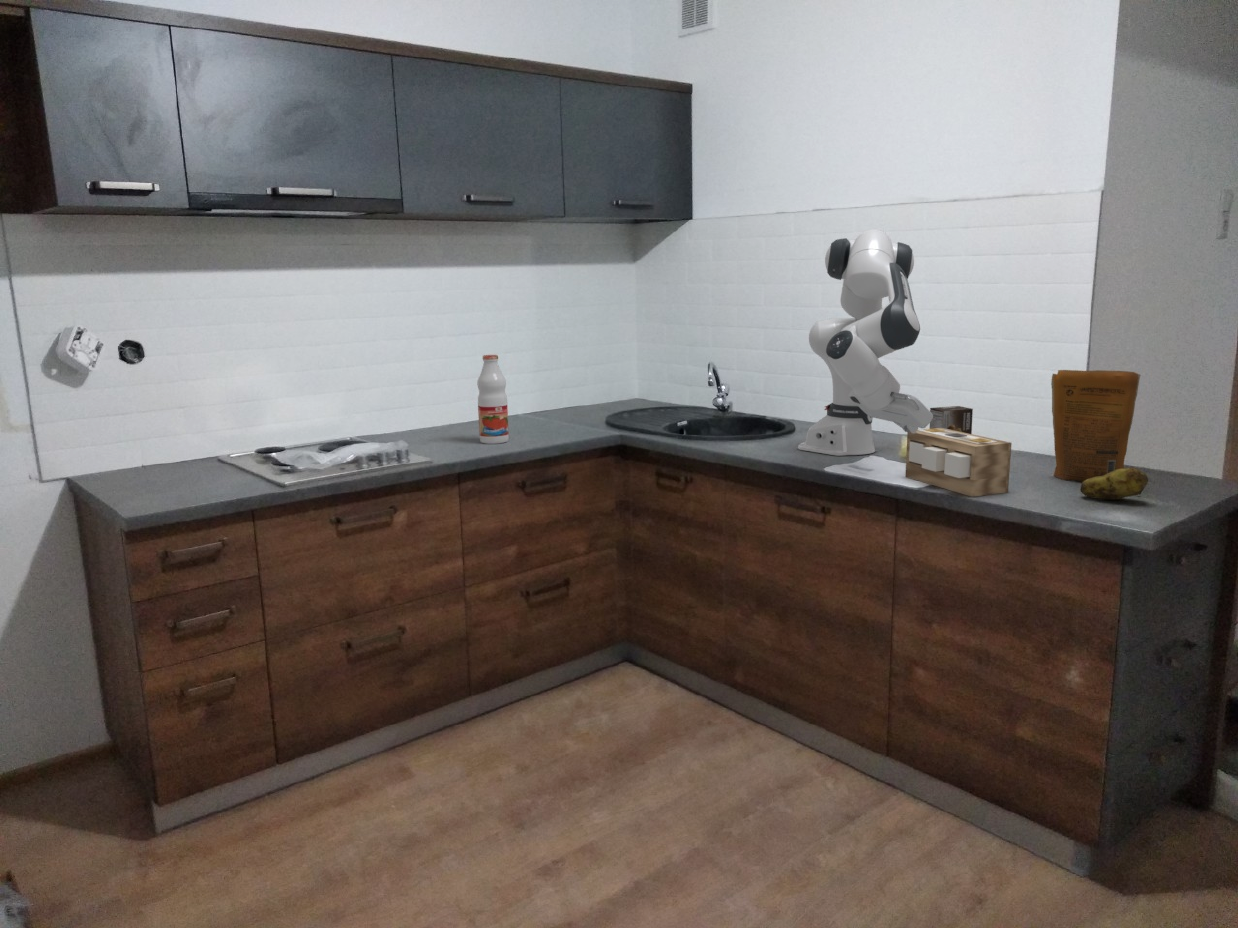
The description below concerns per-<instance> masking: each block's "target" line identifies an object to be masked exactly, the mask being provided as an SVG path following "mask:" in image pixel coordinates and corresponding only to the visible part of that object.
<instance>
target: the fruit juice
mask: <svg viewBox="0 0 1238 928" xmlns="http://www.w3.org/2000/svg"><path fill="white" fill-rule="evenodd" d="M482 361H483V365H482V368H481V371H480V375H479V376H478V379H477V389H478V392H479V394H478V396H477V411H478V413H477V414H478V431H479V442H480V443H482V444H486V445H487V444H488V445H492V444H493V445H496V444H498V445H499V444H503V443H507V442H508V441H509V439H510V437H509V415H508V414H509V412H508V409H509V408H508V398H507V394H506V386H507V380H506V378H505V377H504V375H503V373H502V370H501V368H500V366H499V363H498V362H499V356H498V354H486V355H485V354H484V355H482Z"/></svg>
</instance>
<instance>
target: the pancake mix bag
mask: <svg viewBox="0 0 1238 928" xmlns="http://www.w3.org/2000/svg"><path fill="white" fill-rule="evenodd" d="M1140 378H1141V374H1139V373H1137V372H1135V371H1127V370H1104V369H1103V370H1099V369H1098V370H1096V369H1095V370H1077V369H1075V370H1074V369H1073V370H1071V369H1058V370H1057V373H1052V375H1051V380H1050V381H1051V382H1050V385H1051V414H1052V426H1053V427H1052V429H1053V440H1054V441H1053V442H1054V454H1055V456H1054V457H1055V468H1054V472H1053V477H1056V478H1057V477H1058V478H1057V479H1059V478H1060V479H1059V480H1062V479H1063V480H1064V481H1069V482H1070V481H1071V482H1079V483H1082V482H1083V481H1085V480H1087V479H1090V478H1093V477H1097V476H1103V475H1106V474H1108V473H1110V472H1112V471H1114V470H1117V469H1121V468H1125V467H1124V466H1125V465H1124V464H1125V458H1126V455H1127V451H1128V443H1129V436H1130V431H1131V428H1132V426H1133V425H1132V424H1133V418H1134V414H1135V407H1136V400H1137V396H1138V392H1139V386H1140Z"/></svg>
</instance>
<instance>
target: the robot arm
mask: <svg viewBox="0 0 1238 928" xmlns="http://www.w3.org/2000/svg"><path fill="white" fill-rule="evenodd" d="M824 265H825V268H826V271H827V272H826V273H827V275H828V276H829V277H830V278H833V279H835V280H839V281H841V280H842V288H841V295H840V299H839V300H840V301H839V302H840V306H841V308H842V309H843V311H844V312H846V314H847V315H849V316H851V317H843V318H842V317H841V318H840V317H836V318H835V317H834V318H827V319H822V320H819V321H816V322H814V324H813V325H812V327H811V328H810V330H809V333H808V343H809V346H810V348H811V350H812V351H813V352H814V354H816V355H817V356H818V357H820V358H821V359H822V360H823V361H824V363H825V364H826V365H827V367H828V369H829V372H830V374H831V379H832V402H831V403H829V404H827V405H826V406H824V411H826V415H825V416H823V417H822V418H821V419H819V420H818V421H817V422H815V423H814V424H813V425H811V426H810V427H809V428H808V430H807V433H806V437H805V441H803V442H801V443H799V444H798V446H797V449H798V450H799V451H807V452H812V453H819V454H824V455H831V456H836V457H837V456H838V457H839V456H840V457H841V456H858V455H859V456H861V455H868V454H873V453H875V452H876V447H875V444H874V437H873V430H872V423H873V418H874V419H878V420H884V421H887V422H892V423H893V424H895V425H896V426H898V427H899V428H902V430H903V431H904V432H905V433H907V432H909V433H913V434H915V433H916V432H917V430H919V429H926V428H927V426H928V425H930V422H931V420H932V419H933V414H932V413H931V412H930V409H928V407H926V406H925V404H924V403H923V402H922V401H921V400H919V398H918V397H916V396H914V395H912V394H907V393H902V392H900V391H901V384H900V382H898V380H897V379H896V378H895V376H894V375H893V374H892V373H891V371H890V370H889V369H888V368H887V367H886V366H884V365H883V364H881V363H880V360H879V358H882V357H885V356H887V355H889V354H892V353H893V352H896V351H899V350H902V349H905V348H908V347H910V346H913V345H915V343H916V341H917V340H918V338H919V334H920V330H921V325H920V322H919V318H918V316H917V314H916V310H915V308H914V302H913V297H912V293H911V288H910V283H909V280H908V279H909V277H910V276H911V274H912V272H913V269H914V265H915V257H914V253H913V248H912V247H911V246H910V245H908V244H907V243H904V242H899V241H898V242H893V241H892V240H891V238H890V236H889V235H888V234H887V233H886V232H884V231H882V230H879V229H867V230H865V231H863V232H861V233H860V234H859V235H857V237H856V238H854V239H852V238H851V239H848V238H845V237H844V238H838V239H834V241H832V242H831V243H830V246H829V247H828V248H827V251H826V254H825V258H824ZM886 297H888V301H889V302H888V304H887V305H885V306H884V307H883V299H884V298H886Z"/></svg>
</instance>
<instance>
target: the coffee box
mask: <svg viewBox="0 0 1238 928" xmlns="http://www.w3.org/2000/svg"><path fill="white" fill-rule="evenodd" d="M973 410H974V408H971V407H965V406H961V405H956V406H955V405H953V406H941V407H940V406H939V407H930V409H929V411H930V412H931V413H932V414H933V419H932V420H931V422H930V423H929V428H928V429H933V428H945V429H950V430H954V431H959V432H964V433H968V434H973V432H972V431H973V412H974V411H973Z"/></svg>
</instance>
